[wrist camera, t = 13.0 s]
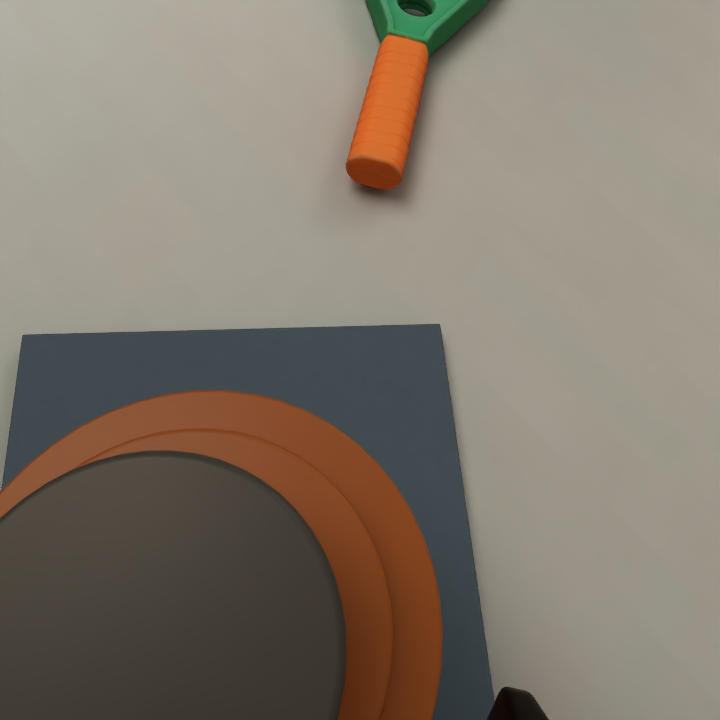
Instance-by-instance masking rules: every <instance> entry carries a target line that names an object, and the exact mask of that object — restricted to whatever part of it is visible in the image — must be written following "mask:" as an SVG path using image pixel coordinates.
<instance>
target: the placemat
mask: <svg viewBox="0 0 720 720" xmlns="http://www.w3.org/2000/svg"><path fill="white" fill-rule="evenodd" d="M195 390H227V391H236V392H244V393H252V394H257V395H261V396H265V397H269V398H273V399H277V400H281V401H284V402H286V403H289V404H291V405H294V406H296V407H299V408H301V409H304V410H306V411H309V412H310V413H312V414H314V415H316V416H318V417H320V418H321V419H323V420H325V421H327V422H329V423H331V424H332V425H334V426H335V427H336V428H338V429H339V430H341V431H342V432H343V433H345V434H346V435H347V436H349V437H350V438H352V439H353V440H354V441H356V442H357V443H358V444H359V445H360V446H361V447H362V448H363V449H364V450H365V451H366V452H367V453H368V454H369V455H370V456H371V457H373V458H374V459H375V460H376V461H377V463H378V464H379V465H380V466H381V468H382V469H383V470H384V471H385V472H386V474H387V475H388V476H389V477H390V478H391V480H392V481H393V482H394V483H395V485H396V487H397V488H398V490H399V491H400V493H401V494H402V496H403V498H404V499H405V501H406V502H407V504H408V506H409V507H410V509H411V511H412V513H413V515H414V517H415V519H416V521H417V524H418V526H419V528H420V530H421V532H422V534H423V536H424V539H425V542H426V545H427V548H428V551H429V555H430V558H431V561H432V564H433V567H434V572H435V577H436V582H437V587H438V591H439V596H440V605H441V617H442V629H443V640H442V668H441V675H440V681H439V688H438V695H437V701H436V706H435V710H434V713H433V717H432V720H487V718H488V716H489V713H490V711H491V709H492V707H493V705H494V696H493V689H492V682H491V675H490V668H489V661H488V654H487V647H486V641H485V634H484V627H483V620H482V613H481V606H480V599H479V592H478V585H477V578H476V571H475V564H474V557H473V550H472V543H471V536H470V529H469V522H468V515H467V509H466V502H465V495H464V488H463V481H462V474H461V467H460V460H459V453H458V446H457V439H456V432H455V425H454V418H453V411H452V404H451V397H450V390H449V383H448V377H447V370H446V363H445V356H444V349H443V342H442V335H441V328H440V324H420V325H381V326H343V327H304V328H265V329H227V330H188V331H149V332H111V333H72V334H34V335H23V336H22V342H21V350H20V357H19V365H18V372H17V380H16V387H15V394H14V402H13V409H12V417H11V424H10V431H9V439H8V446H7V454H6V461H5V468H4V476H3V483H2V490H3V489H4V488H5V487H6V486H7V485H8V484H9V483H10V482H11V481H12V480H13V479H14V478H15V476H16V475H17V474H18V473H19V472H20V471H21V470H22V469H23V468H24V467H25V466H26V465H28V464H29V463H30V462H31V461H32V460H34V459H35V458H36V457H37V456H39V455H40V454H41V453H42V452H43V451H45V450H46V449H47V448H48V447H50V446H51V445H52V444H54V443H55V442H57V441H58V440H60V439H61V438H63V437H64V436H66V435H67V434H69V433H70V432H72V431H73V430H75V429H76V428H78V427H80V426H81V425H83V424H85V423H87V422H89V421H91V420H93V419H95V418H97V417H99V416H101V415H103V414H105V413H107V412H110V411H112V410H115V409H118V408H120V407H123V406H126V405H128V404H131V403H134V402H137V401H140V400H144V399H148V398H152V397H157V396H161V395H165V394H170V393H179V392H187V391H195Z"/></svg>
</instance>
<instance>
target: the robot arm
mask: <svg viewBox="0 0 720 720" xmlns="http://www.w3.org/2000/svg"><path fill="white" fill-rule="evenodd" d="M487 720H549V719H548V718H547V716H546V715H545V713H544V712H543V710H542V709H541V707H540V706H539V704H538V703H537V701H536V700H535V698H534V697H533V696H532V695H531V694H530V693H529V692H527V691H525V690H520V689H516V688H511V687H504V688H502V689H501V691H500V692H499V694H498V696H497V699H496V701H495V703H494V705H493V707H492V709H491V711H490V713H489V716H488V718H487Z"/></svg>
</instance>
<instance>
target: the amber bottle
mask: <svg viewBox="0 0 720 720" xmlns="http://www.w3.org/2000/svg"><path fill="white" fill-rule="evenodd" d="M442 640H443V629H442V617H441V605H440V596H439V591H438V587H437V582H436V577H435V572H434V567H433V564H432V561H431V558H430V555H429V551H428V548H427V545H426V542H425V539H424V536H423V534H422V532H421V530H420V528H419V526H418V524H417V521H416V519H415V517H414V515H413V513H412V511H411V509H410V507H409V506H408V504H407V502H406V501H405V499H404V498H403V496H402V494H401V493H400V491H399V490H398V488H397V487H396V485H395V483H394V482H393V481H392V480H391V478H390V477H389V476H388V475H387V474H386V472H385V471H384V470H383V469H382V468H381V466H380V465H379V464H378V463H377V461H376V460H375V459H374V458H373V457H371V456H370V455H369V454H368V453H367V452H366V451H365V450H364V449H363V448H362V447H361V446H360V445H359V444H358V443H357V442H356V441H354V440H353V439H352V438H350V437H349V436H347V435H346V434H345V433H343V432H342V431H341V430H339V429H338V428H336V427H335V426H334V425H332V424H331V423H329V422H327V421H325V420H323V419H321V418H320V417H318V416H316V415H314V414H312V413H310V412H309V411H306V410H304V409H301V408H299V407H296V406H294V405H291V404H289V403H286V402H284V401H281V400H277V399H273V398H269V397H265V396H261V395H257V394H252V393H244V392H236V391H227V390H195V391H187V392H179V393H170V394H165V395H161V396H157V397H152V398H148V399H144V400H140V401H137V402H134V403H131V404H128V405H126V406H123V407H120V408H118V409H115V410H112V411H110V412H107V413H105V414H103V415H101V416H99V417H97V418H95V419H93V420H91V421H89V422H87V423H85V424H83V425H81V426H80V427H78V428H76V429H75V430H73V431H72V432H70V433H69V434H67V435H66V436H64V437H63V438H61V439H60V440H58V441H57V442H55V443H54V444H52V445H51V446H50V447H48V448H47V449H46V450H45V451H43V452H42V453H41V454H40V455H39V456H37V457H36V458H35V459H34V460H32V461H31V462H30V463H29V464H28V465H26V466H25V467H24V468H23V469H22V470H21V471H20V472H19V473H18V474H17V475H16V476H15V478H14V479H13V480H12V481H11V482H10V483H9V484H8V485H7V486H6V487H5V488H4V489H3V490H2V491H1V492H0V720H432V717H433V713H434V710H435V706H436V701H437V695H438V688H439V681H440V675H441V668H442Z"/></svg>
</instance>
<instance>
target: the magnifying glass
mask: <svg viewBox="0 0 720 720" xmlns="http://www.w3.org/2000/svg"><path fill="white" fill-rule="evenodd" d="M488 1H489V0H366V2H367V5H368V8H369V10H370V13H371V16H372V19H373V22H374V25H375V27H376V30H377V33H378V36H379V38H380V42H381V45H380V47H379V50H378V53H377V56H376V60H375V64H374V66H373V70H372V74H371V77H370V80H369V85H368V87H367V91H366V95H365V98H364V102H363V106H362V109H361V112H360V116H359V119H358V122H357V127H356V130H355V133H354V136H353V141H352V143H351V147H350V152H349V155H348V158H347V162H346V170H347V173H348V175H349V176H350V177H351V178H352V179H353V180H354V181H356V182H358V183H360V184H364V185H367V186H371V187H376V188H380V189H389V188H393V187H395V186H396V185H398V184H399V183H400V181H401V179H402V176H403V172H404V168H405V163H406V159H407V156H408V150H409V146H410V142H411V137H412V133H413V128H414V124H415V120H416V114H417V111H418V105H419V101H420V97H421V92H422V88H423V83H424V80H425V75H426V70H427V67H428V59H429V58H428V57H429V56H430V55H431V54H432V53H433V52H434V51H435V50H436V49H437V48H438V47H440V46H441V45H442V44H443V43H444V42H445V41H446V40H448V39H449V38H450V37H451V36H452V35H453V34H454V33H455V32H456V31H458V30H459V29H460V28H461V27H462V26H463V25H464V24H465V23H466V22H468V21H469V20H470V19H471V18H472V17H473V16H474V15H475V14H476V13H478V12H479V11H480V10H481V9H482V8H483V7H484V6H485V5H486V4H487V2H488ZM403 9H414V10H418V11H420V12H422V13H424V14H425V15H426V16H424V17H417V16H413V15H410V14H408V13H406V12H404V11H403Z"/></svg>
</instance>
